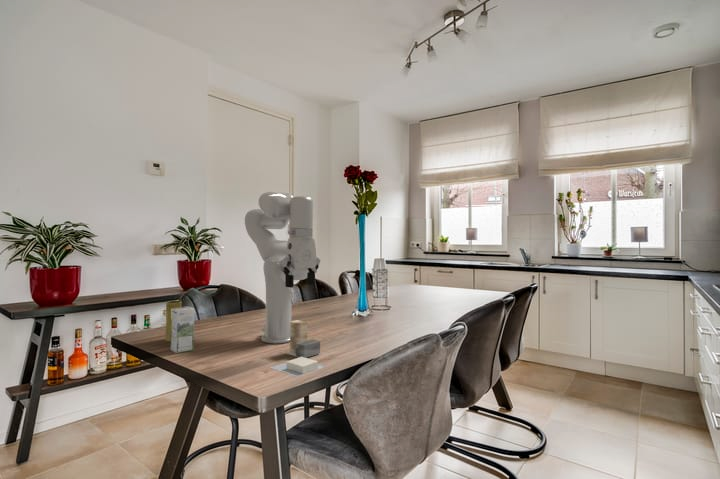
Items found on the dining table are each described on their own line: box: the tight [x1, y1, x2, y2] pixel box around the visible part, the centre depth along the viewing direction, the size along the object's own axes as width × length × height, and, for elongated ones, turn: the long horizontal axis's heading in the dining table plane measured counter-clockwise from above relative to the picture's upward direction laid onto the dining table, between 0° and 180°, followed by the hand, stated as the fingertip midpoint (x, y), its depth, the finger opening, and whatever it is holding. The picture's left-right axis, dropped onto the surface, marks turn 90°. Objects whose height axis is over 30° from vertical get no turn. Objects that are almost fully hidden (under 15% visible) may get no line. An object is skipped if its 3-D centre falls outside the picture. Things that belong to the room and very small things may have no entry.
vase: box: [164, 300, 183, 343], centre depth 145 cm, size 6×6×14 cm
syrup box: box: [169, 306, 195, 354], centre depth 131 cm, size 6×6×14 cm
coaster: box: [285, 351, 299, 358], centre depth 127 cm, size 7×6×1 cm
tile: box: [285, 357, 319, 374], centre depth 112 cm, size 2×6×7 cm
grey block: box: [289, 319, 321, 358], centre depth 127 cm, size 9×7×10 cm
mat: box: [269, 362, 325, 378], centre depth 114 cm, size 12×11×1 cm
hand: (300, 285), depth 128 cm, fingers open, 9 cm apart
